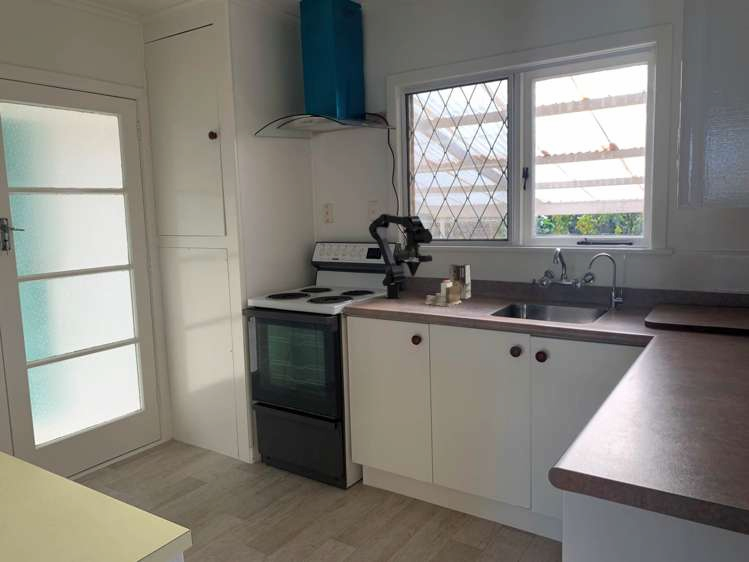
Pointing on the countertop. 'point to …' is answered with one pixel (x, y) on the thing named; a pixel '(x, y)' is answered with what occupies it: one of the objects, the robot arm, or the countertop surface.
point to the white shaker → (443, 287)
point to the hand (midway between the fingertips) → (413, 276)
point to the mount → (450, 298)
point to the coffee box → (461, 278)
